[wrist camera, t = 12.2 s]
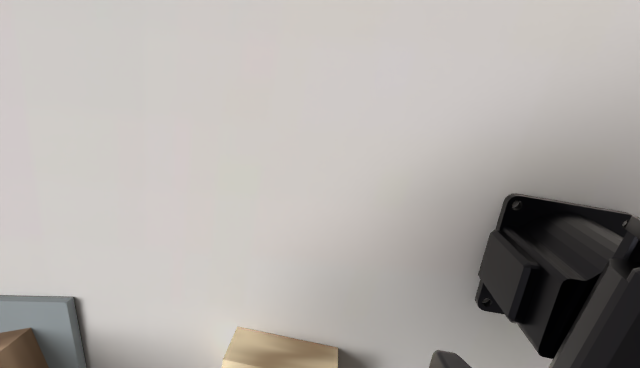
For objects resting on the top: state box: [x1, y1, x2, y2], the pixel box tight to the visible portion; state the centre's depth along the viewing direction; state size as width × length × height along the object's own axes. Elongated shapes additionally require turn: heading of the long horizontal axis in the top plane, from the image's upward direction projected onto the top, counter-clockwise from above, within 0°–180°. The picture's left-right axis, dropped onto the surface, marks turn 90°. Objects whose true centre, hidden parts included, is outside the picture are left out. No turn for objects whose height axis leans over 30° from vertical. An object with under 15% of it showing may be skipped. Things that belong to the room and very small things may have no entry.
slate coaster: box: [0, 296, 86, 368], centre depth 24 cm, size 8×8×1 cm
